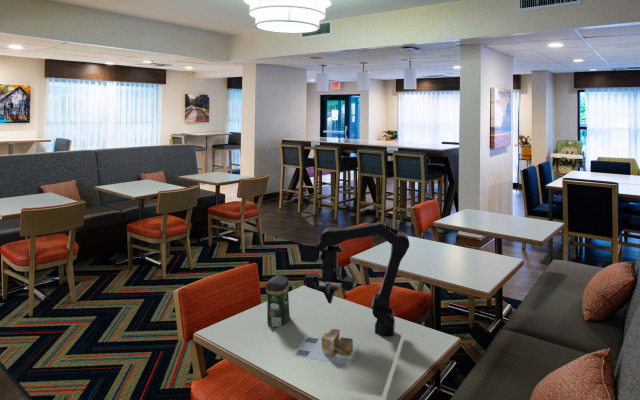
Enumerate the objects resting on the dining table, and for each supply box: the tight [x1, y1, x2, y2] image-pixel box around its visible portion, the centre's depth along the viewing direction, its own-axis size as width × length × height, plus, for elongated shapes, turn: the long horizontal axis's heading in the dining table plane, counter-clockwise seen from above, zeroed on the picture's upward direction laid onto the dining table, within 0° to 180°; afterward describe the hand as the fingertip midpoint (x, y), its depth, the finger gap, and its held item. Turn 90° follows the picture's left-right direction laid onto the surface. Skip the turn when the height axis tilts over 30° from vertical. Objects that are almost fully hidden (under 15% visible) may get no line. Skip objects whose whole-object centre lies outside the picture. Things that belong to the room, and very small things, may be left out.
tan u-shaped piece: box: [321, 332, 354, 356], centre depth 154 cm, size 10×4×5 cm, turn 72°
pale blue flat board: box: [292, 335, 361, 366], centre depth 155 cm, size 20×14×1 cm
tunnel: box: [324, 328, 341, 357], centre depth 154 cm, size 3×8×6 cm, turn 162°
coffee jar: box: [265, 275, 291, 329], centre depth 177 cm, size 10×8×19 cm
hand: (330, 303), depth 167 cm, fingers closed
